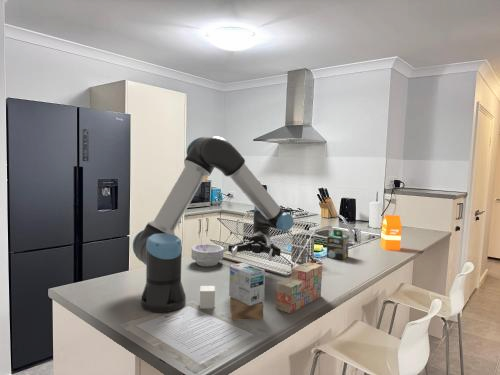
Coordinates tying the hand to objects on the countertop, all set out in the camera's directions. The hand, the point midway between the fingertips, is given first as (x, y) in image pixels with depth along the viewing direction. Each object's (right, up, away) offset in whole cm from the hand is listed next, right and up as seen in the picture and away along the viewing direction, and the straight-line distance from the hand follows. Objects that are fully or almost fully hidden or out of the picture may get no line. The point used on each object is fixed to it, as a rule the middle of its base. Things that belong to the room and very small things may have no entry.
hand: (251, 255), depth 130 cm
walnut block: (-2, -17, -11) cm, 21 cm away
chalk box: (+46, -13, +61) cm, 78 cm away
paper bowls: (-21, -12, +42) cm, 48 cm away
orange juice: (+83, -12, +85) cm, 119 cm away
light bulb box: (-2, -12, -11) cm, 17 cm away
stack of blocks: (+17, -17, -1) cm, 24 cm away
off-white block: (-15, -16, -6) cm, 23 cm away
